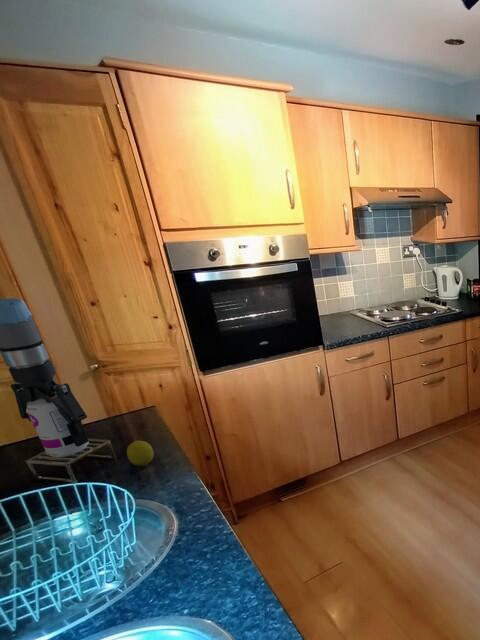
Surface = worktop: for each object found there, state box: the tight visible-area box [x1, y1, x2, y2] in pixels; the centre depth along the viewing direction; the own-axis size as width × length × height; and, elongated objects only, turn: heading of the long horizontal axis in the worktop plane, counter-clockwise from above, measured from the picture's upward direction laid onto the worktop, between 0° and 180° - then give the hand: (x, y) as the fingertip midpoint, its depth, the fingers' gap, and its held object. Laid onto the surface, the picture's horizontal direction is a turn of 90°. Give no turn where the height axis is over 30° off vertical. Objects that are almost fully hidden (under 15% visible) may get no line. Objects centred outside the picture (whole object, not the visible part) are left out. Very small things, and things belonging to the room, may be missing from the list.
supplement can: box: [26, 395, 90, 458], centre depth 117 cm, size 8×8×15 cm
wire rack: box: [24, 438, 119, 484], centre depth 121 cm, size 12×12×7 cm
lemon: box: [126, 440, 155, 467], centre depth 124 cm, size 6×6×8 cm
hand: (66, 442), depth 119 cm, fingers open, 9 cm apart
